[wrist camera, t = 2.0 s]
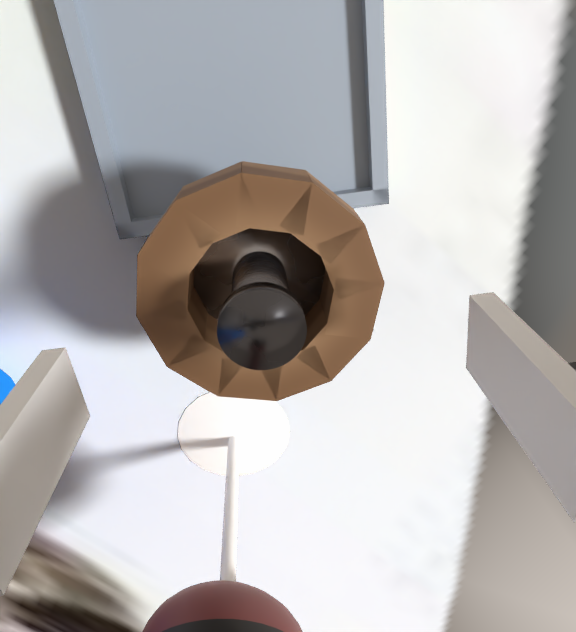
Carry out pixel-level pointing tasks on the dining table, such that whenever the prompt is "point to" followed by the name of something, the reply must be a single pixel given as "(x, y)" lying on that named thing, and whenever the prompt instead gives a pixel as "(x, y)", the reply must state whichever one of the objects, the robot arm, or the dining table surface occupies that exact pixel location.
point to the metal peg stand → (260, 295)
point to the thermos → (5, 385)
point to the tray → (229, 94)
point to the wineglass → (228, 514)
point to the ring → (266, 214)
